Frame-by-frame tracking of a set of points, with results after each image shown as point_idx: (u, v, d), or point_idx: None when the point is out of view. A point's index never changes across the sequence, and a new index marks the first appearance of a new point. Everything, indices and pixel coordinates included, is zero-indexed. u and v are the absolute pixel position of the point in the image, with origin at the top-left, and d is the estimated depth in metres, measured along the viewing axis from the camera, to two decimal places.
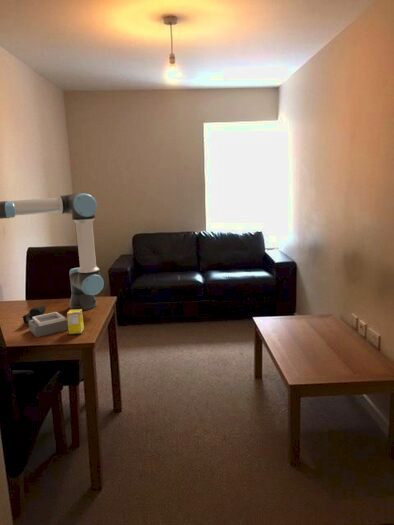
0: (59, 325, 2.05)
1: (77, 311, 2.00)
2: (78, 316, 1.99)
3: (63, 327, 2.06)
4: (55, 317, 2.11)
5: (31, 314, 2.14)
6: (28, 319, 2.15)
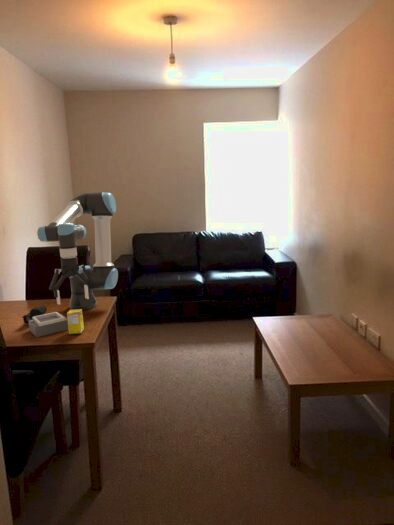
0: (59, 325, 2.05)
1: (77, 311, 2.00)
2: (78, 316, 1.99)
3: (63, 327, 2.06)
4: (55, 317, 2.11)
5: (31, 314, 2.14)
6: (28, 319, 2.15)
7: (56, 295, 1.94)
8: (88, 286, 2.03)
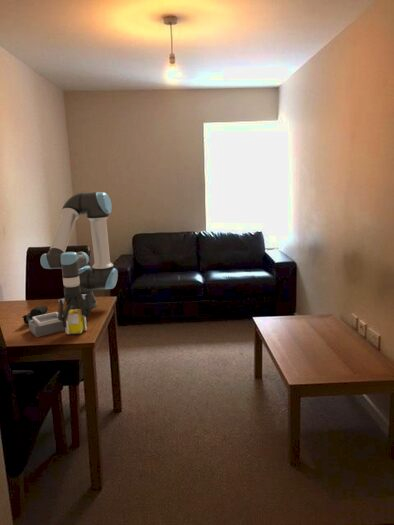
0: (59, 325, 2.05)
1: (77, 311, 2.00)
2: (78, 316, 1.99)
3: (63, 327, 2.06)
4: (55, 317, 2.11)
5: (31, 314, 2.14)
6: (28, 319, 2.15)
7: (65, 325, 1.99)
8: (86, 317, 2.04)
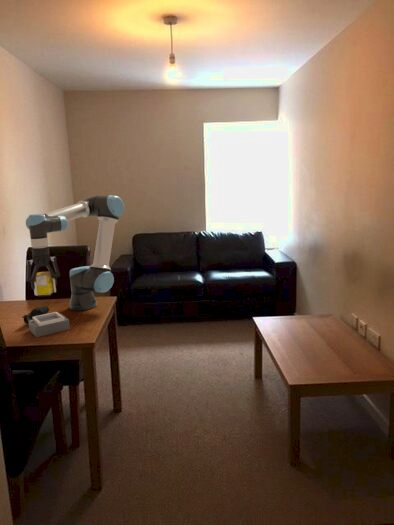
0: (59, 325, 2.05)
1: (46, 273, 2.02)
2: (46, 277, 2.01)
3: (63, 327, 2.06)
4: (55, 317, 2.11)
5: (31, 314, 2.14)
6: (29, 319, 2.15)
7: (33, 286, 2.01)
8: (55, 279, 2.06)
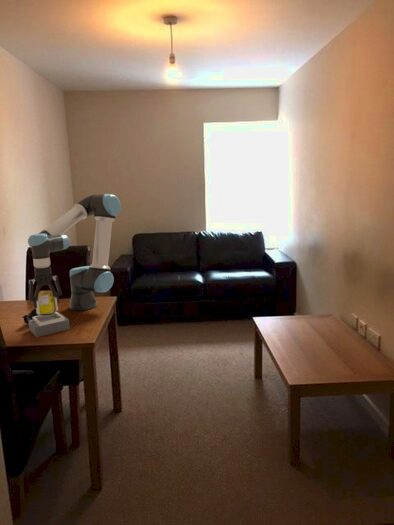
0: (59, 325, 2.05)
1: (48, 292, 2.04)
2: (48, 297, 2.02)
3: (63, 327, 2.06)
4: (55, 317, 2.11)
5: (31, 314, 2.14)
6: (29, 319, 2.15)
7: (35, 305, 2.02)
8: (57, 298, 2.08)
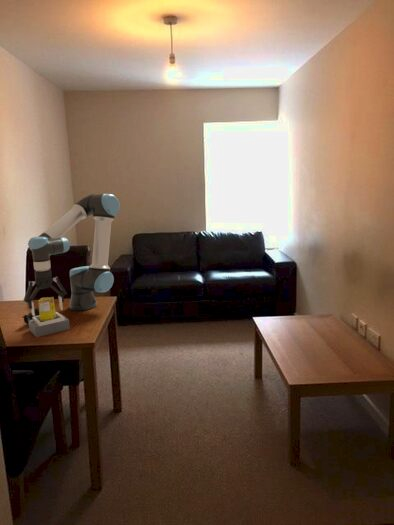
0: (59, 325, 2.05)
1: (48, 299, 2.05)
2: (49, 303, 2.03)
3: (63, 327, 2.06)
4: None
5: (31, 314, 2.14)
6: (29, 319, 2.15)
7: (30, 306, 2.01)
8: (62, 297, 2.09)
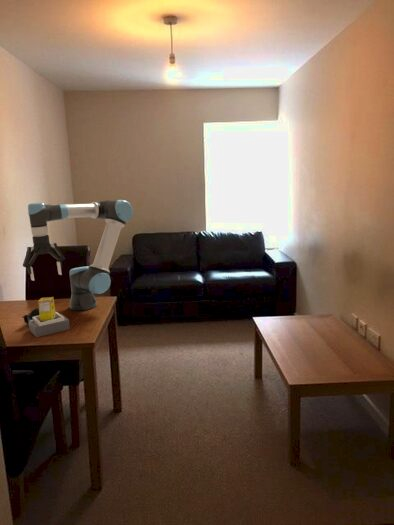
0: (59, 325, 2.05)
1: (48, 299, 2.05)
2: (49, 303, 2.03)
3: (63, 327, 2.06)
4: None
5: (31, 314, 2.14)
6: (29, 319, 2.15)
7: (30, 272, 2.05)
8: (60, 263, 2.13)
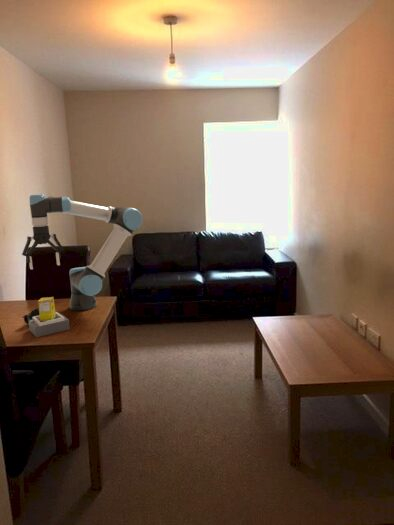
0: (59, 325, 2.05)
1: (48, 299, 2.05)
2: (49, 303, 2.03)
3: (63, 327, 2.06)
4: None
5: (31, 314, 2.14)
6: (29, 319, 2.15)
7: (29, 260, 2.11)
8: (59, 253, 2.20)
